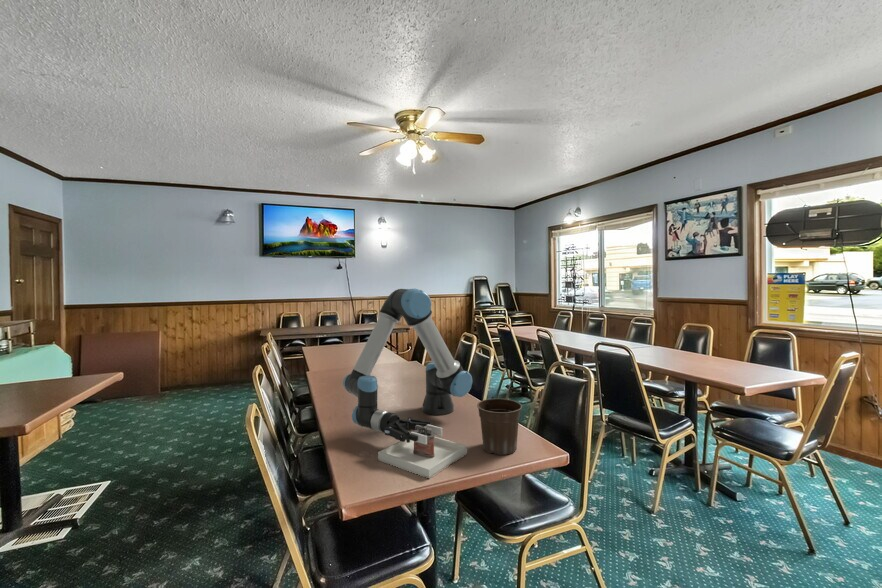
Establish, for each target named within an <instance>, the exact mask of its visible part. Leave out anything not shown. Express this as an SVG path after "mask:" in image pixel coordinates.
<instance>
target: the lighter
mask: <svg viewBox="0 0 882 588" xmlns="http://www.w3.org/2000/svg"><path fill="white" fill-rule="evenodd" d="M415 429H417V430H414V431H413V432H415V433H419V434H422V435H426V436H427V444H426V445H425V444H422V443H418V442H415V441H414V450H413V453H414V454H416V455H418V456H421V457H426V458H433V457H434V438H435V437H436V435H435V434H432V433H431V428H428V427H427V426H424V427H422V426H420V425H416V426H415Z"/></svg>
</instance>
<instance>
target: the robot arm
mask: <svg viewBox="0 0 882 588" xmlns="http://www.w3.org/2000/svg"><path fill="white" fill-rule="evenodd" d="M378 315H379V317H378V319H377V321H376V323H375V325H374V327H373V329H372V331H371V333H370V335H369V337H368V339H367V340H366V342H365V345H364V347H363V349H362V351H361V353H360V354H359V357H358V359H357V360H356V363H355V364H354V367H353V368H352V371H351V373H349V374H347V375H346V376H345V377H344V378H343V382H342V386H343V388H344V389H345V390H346V391H347V392H348V393H349V394H352V395H354V396H355V397H357V406H355V407H354V409H353V410H352V411H353V412H352V414H351V419H352V422H353V423H354V424H356V425H358V426H360V427H362V428H363V427H364V428H368V429H371V430H373V431H377V432H379V433H383V434H384V435H385V436H388V437H391V438H394V439H396V440H398V441H402V442H404V441H405V440H407V443H409V442H410V440H412V441H415V442H418V443H422V444H425V445H426V444H427V436H426V435H422V434H419V433H415V432H414V431H416V430H417V429H415V426H416V425H420V426H422V427H424V426H427V427H428V428H431V433H432V434H434V435H435V436H439V437H443V430H444V428H443V427H440V426H436V425H432V424H431V421H430V420H422V419H417V418H413V417H407V419H404V418H400V417H399V415H398V414H396V413H393V412H389V411H387V410H384V409H379V408H378V389H379V384H378V378H377V377H376V376H374V375H371V374H372V373H373V372H372V371H373V369H374V368H375V366H376V365H377V362H378V360H379V358H380V356H381V354H382V351H383V349H384V348H385V346H386V343H388V339H389V337H390V336H391V333H392V332H393V329H394V328H395V325H397V324H399V322H400V321H401V319H402V318H403V319H404V321H405V323H406V324H407V326H408V327H412V328H413V329H414V331H415V333H416V335H417V336H418V338H419V340H420V341H421V344H422V345H423V347H424V348H425V351H426V352H427V354H428V355H429V357H430V359H431V362H428V363H427V364H426V366H425V396H424V399H423V403H422V408H421V410H422V412H423V413H425V414H426V415H427V414H428V415H435V416H439V415H441V416H442V415H449V414H451V413H453V412H454V410H455V408H454V407H455V406H454V401H453V400H452V397H457V398H463V397H465V396H467V394H468V393H469V392H470V390H471V389H472V385H473V377H472V375H471V374H472V373H470V372H468V371H467V370H464V369H463V366H462V365H461V363H460V361H459V360H456V359H454V357H453V354H452V353H451V351H450V350H449V347H448V346H447V344H446V343H445V340H444V339H443V337H442V335H441V333H440V330H438V327H437V326H436V324H435V322H434V320H433V318H432V315H433V311H432V299H431V297H430V296H429V294H428V293H427V292H425V291H424V290H422V289H418V288H398V289H395V290H394V291H391V293H390V294H389V295H388V296H387V298H386V299H385V300H384V302H383V305H382V306H381V308H380V310H379V312H378ZM411 430H412V431H411ZM413 430H414V431H413Z"/></svg>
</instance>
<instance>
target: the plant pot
mask: <svg viewBox="0 0 882 588" xmlns="http://www.w3.org/2000/svg"><path fill="white" fill-rule="evenodd" d="M476 407H477V408H478V416H479V418H480V427H481V437H482V448H483V449H484V451H485V452H487V453H489V454H492V453H493V454H494V455H496V454H498V456H506V455H511V454H514V452H515V451H517V445H518V435H519V433H518V431H519V423H520V418H521V410H522V409H523V405H522V404H521V403H520V402H518V401H516V400H512V399H507V398H486V399H484V400H480V401H478V402H477V404H476Z"/></svg>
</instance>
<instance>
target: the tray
mask: <svg viewBox="0 0 882 588" xmlns="http://www.w3.org/2000/svg"><path fill="white" fill-rule="evenodd" d="M413 450H414V441H412V440H410V442H409V443H407V440H405V441H404V442H402V441H400V440H398V441H397V442H395V443H393V444H392V445H391V444H390V445H389V446H387V447H385V448H383V449H381V450H379V451H378V452H377V453H378V454H377V461H379V462H381V463H384V464H386V463H387V464H386V465H389V464H390V466H392V465H393V466H392V467H394V466H396V467H395V468H397V467H398V468H397V469H400V468H401V469H400V470H403V469H404V470H403V471H405V470H407V471H406V472H408V471H409V473H411V472H412V473H411V474H413V473H415V474H414V475H416V474H418V475H417V476H419V475H420V476H419V477H421V476H423V477H422V478H424V477H426V478H425V479H427V478H431V477H432V476H433V475H435V474H436V473H438V472H439V471H440V470H442V469H444V468H445V467H447V466H448V465H450V464H452V463H453V462H455V461H456V462H457V460H458V459H459V460H461V459H462V458H464V457H465V456H467V455H468V445H466V444H462V443H459V442H455V441H452V440H448V439H445V438H441V437H437V436H435V438H434V457H433V458H426V457H421V456H418V455H416V454H414V453H413ZM464 455H465V456H464ZM461 457H462V458H461ZM459 460H458V461H459ZM456 462H455V463H456ZM453 464H454V463H453ZM453 464H452V465H453ZM450 466H451V465H450ZM447 468H448V467H447ZM444 470H445V469H444ZM438 474H439V473H438ZM435 476H436V475H435ZM432 478H433V477H432ZM432 478H431V479H432Z"/></svg>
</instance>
